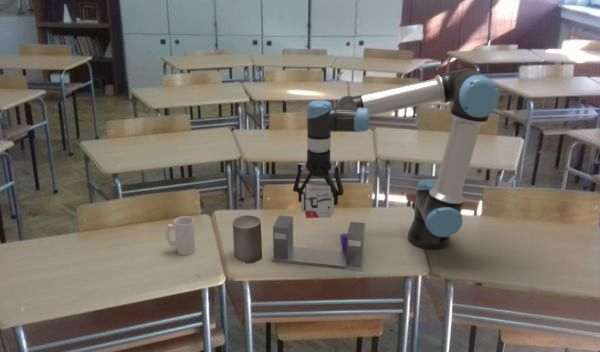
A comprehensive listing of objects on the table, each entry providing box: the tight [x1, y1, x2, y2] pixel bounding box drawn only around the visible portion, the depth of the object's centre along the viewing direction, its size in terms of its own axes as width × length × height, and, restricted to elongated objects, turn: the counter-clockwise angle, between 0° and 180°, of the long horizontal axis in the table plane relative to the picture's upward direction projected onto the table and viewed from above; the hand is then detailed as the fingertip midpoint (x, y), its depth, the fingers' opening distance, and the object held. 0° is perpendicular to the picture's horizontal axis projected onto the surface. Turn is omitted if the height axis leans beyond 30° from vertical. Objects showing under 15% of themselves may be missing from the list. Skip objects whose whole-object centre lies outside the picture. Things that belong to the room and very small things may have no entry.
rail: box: [271, 215, 366, 272], centre depth 196 cm, size 31×10×13 cm, turn 79°
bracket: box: [339, 233, 347, 252], centre depth 207 cm, size 12×7×7 cm, turn 0°
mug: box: [165, 215, 196, 256], centre depth 201 cm, size 10×7×12 cm, turn 101°
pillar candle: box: [231, 215, 263, 264], centre depth 197 cm, size 10×10×15 cm
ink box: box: [304, 179, 333, 219], centre depth 191 cm, size 9×5×12 cm, turn 93°
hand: (318, 211), depth 193 cm, fingers closed on ink box, 9 cm apart
